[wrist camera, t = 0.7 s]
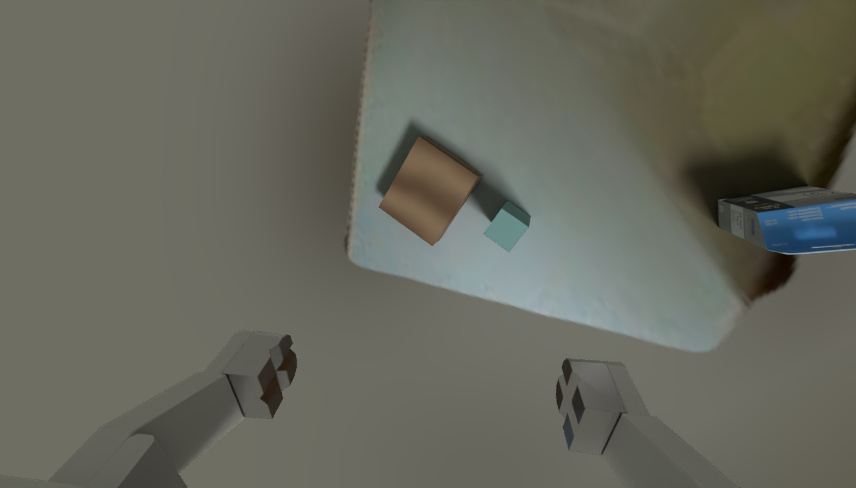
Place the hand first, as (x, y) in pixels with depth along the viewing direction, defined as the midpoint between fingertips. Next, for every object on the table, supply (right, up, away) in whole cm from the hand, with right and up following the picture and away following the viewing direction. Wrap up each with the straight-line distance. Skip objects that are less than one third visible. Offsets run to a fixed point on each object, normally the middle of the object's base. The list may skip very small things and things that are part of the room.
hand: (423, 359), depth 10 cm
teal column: (+12, +7, +40) cm, 42 cm away
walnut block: (+1, +12, +42) cm, 44 cm away
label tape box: (+40, +8, +31) cm, 51 cm away
